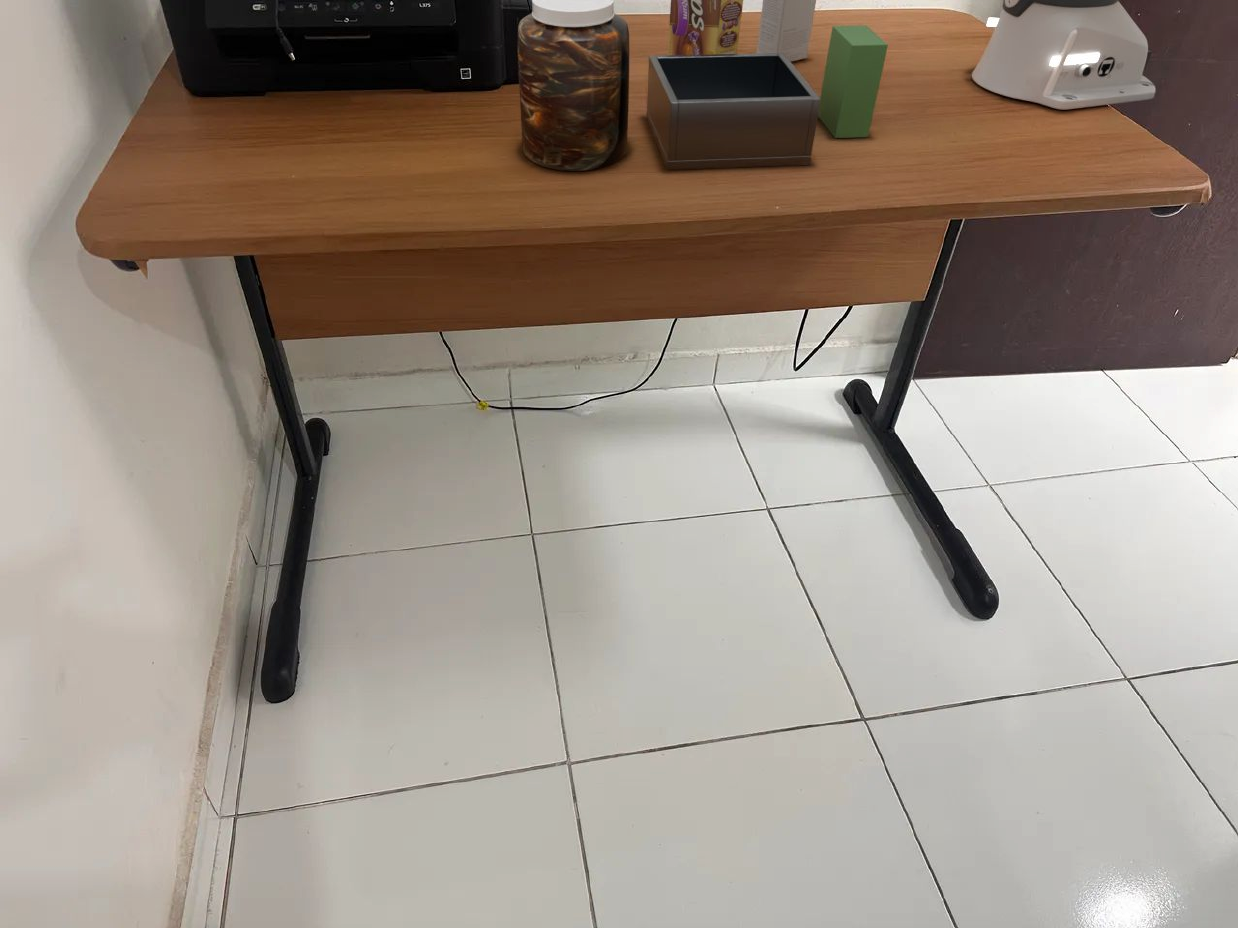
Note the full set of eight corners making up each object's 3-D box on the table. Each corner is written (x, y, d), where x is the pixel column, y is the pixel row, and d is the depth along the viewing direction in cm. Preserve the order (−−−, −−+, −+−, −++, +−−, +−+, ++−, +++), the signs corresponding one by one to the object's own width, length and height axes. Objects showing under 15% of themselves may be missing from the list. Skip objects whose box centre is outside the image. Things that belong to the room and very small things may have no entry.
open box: (774, 114, 104) (783, 52, 99) (809, 165, 93) (821, 98, 89) (646, 118, 102) (648, 55, 98) (667, 170, 92) (671, 103, 87)
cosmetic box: (786, 51, 122) (800, -47, 114) (808, 60, 119) (824, -40, 111) (753, 58, 119) (765, -41, 111) (775, 68, 116) (789, -34, 108)
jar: (646, 161, 93) (653, 9, 83) (545, 179, 89) (539, 22, 79) (601, 122, 101) (602, -21, 91) (506, 137, 97) (496, -11, 87)
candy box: (736, 88, 110) (750, -48, 100) (712, 95, 108) (724, -43, 98) (688, 69, 115) (698, -63, 105) (664, 75, 113) (671, -58, 103)
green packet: (849, 114, 104) (866, 25, 98) (868, 137, 99) (888, 44, 92) (816, 115, 104) (832, 25, 97) (834, 138, 99) (852, 45, 92)
